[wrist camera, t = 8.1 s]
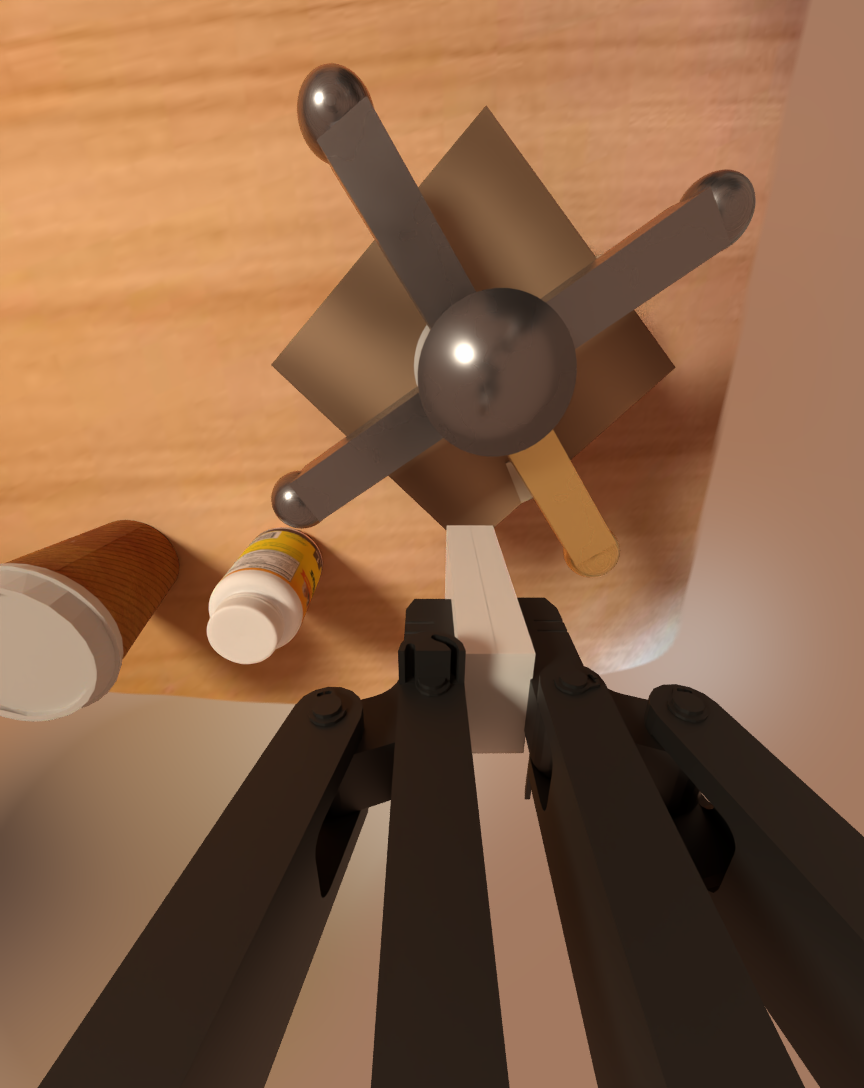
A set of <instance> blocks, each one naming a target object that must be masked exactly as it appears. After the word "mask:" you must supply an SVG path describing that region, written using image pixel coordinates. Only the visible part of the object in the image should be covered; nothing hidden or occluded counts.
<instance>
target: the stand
mask: <svg viewBox="0 0 864 1088" xmlns="http://www.w3.org/2000/svg"><path fill="white" fill-rule="evenodd" d="M418 189H419V190H420V192H421V194H422V196H423V198H424V199H425V201H426V203H427V205H428V206H429V208H430V210H431V212H432V214H433V215H434V217H435V219H436V221H437V223H438V224H439V226H440V228H441V230H442V232H443V233H444V235H445V237H446V239H447V240H448V242H449V244H450V246H451V248H452V249H453V251H454V253H455V255H456V257H457V258H458V260H459V262H460V264H461V266H462V267H463V269H464V271H465V273H466V275H467V276H468V278H469V280H470V282H471V283H472V285H473V287H474V289H475V291H476V292H479V291H482V290H486V289H492V288H511V289H518V290H521V291H524V292H528V293H530V294H532V295H534V296H536V297H538V298H540V299H541V298H542V297H544V296H545V295H546V294H548V293H549V292H551V291H552V290H553V289H555V288H556V287H558V286H559V285H560V284H562V283H563V282H565V281H566V280H568V279H569V278H570V277H572V276H573V275H575V274H576V273H577V272H579V271H580V270H582V269H583V268H584V267H586V266H587V265H589V264H590V263H591V262H593V261H594V260H596V259H597V258H598V257H600V256H601V255H603V254H600V255H598V256H596V257H595V255H594V254H593V252H592V251H591V250H590V248H589V247H588V246H587V244H586V243H585V241H584V240H583V239H582V237H581V236H580V234H579V233H578V232H577V230H576V229H575V228H574V226H573V225H572V223H571V222H570V221H569V219H568V218H567V216H566V215H565V214H564V212H563V211H562V210H561V208H560V207H559V205H558V204H557V203H556V201H555V200H554V198H553V197H552V196H551V194H550V193H549V192H548V190H547V189H546V187H545V186H544V185H543V183H542V182H541V180H540V179H539V178H538V176H537V175H536V174H535V172H534V171H533V169H532V168H531V167H530V165H529V164H528V162H527V161H526V160H525V158H524V157H523V156H522V154H521V153H520V151H519V150H518V149H517V147H516V146H515V144H514V143H513V142H512V140H511V139H510V138H509V136H508V135H507V133H506V132H505V131H504V129H503V128H502V126H501V125H500V124H499V122H498V121H497V120H496V118H495V117H494V115H493V114H492V113H491V111H490V110H489V108H488V107H487V106H485V107H484V109H483V110H482V111H481V112H480V113H479V115H478V116H477V117H476V118H475V119H474V121H473V122H472V123H471V124H470V126H469V127H468V128H467V129H466V130H465V132H464V133H463V134H462V135H461V136H460V138H459V139H458V140H457V141H456V142H455V144H454V145H453V146H452V147H451V148H450V150H449V151H448V152H447V153H446V154H445V156H444V157H443V158H442V159H441V161H440V162H439V163H438V164H437V165H436V167H435V168H434V169H433V170H432V171H431V173H430V174H429V175H428V176H427V177H426V179H425V180H424V181H423V182H422V183H421V185H420V186H419V187H418ZM429 332H430V329H429V327H428V326H427V324H426V322H425V321H424V319H423V318H422V316H421V314H420V313H419V311H418V309H417V308H416V306H415V305H414V303H413V301H412V300H411V298H410V296H409V295H408V293H407V291H406V290H405V288H404V287H403V285H402V283H401V282H400V280H399V278H398V277H397V275H396V273H395V272H394V270H393V269H392V267H391V265H390V264H389V262H388V260H387V259H386V257H385V256H384V254H383V252H382V251H381V249H380V247H379V246H378V244H377V242H376V241H375V240H374V241H373V243H372V244H371V245H370V246H369V247H368V249H367V250H366V251H365V252H364V253H363V255H362V256H361V257H360V258H359V260H358V261H357V262H356V263H355V264H354V266H353V267H352V268H351V269H350V270H349V272H348V273H347V274H346V275H345V276H344V278H343V279H342V280H341V281H340V282H339V284H338V285H337V286H336V287H335V288H334V290H333V291H332V292H331V293H330V295H329V296H328V297H327V298H326V299H325V301H324V302H323V303H322V304H321V305H320V307H319V308H318V309H317V310H316V311H315V313H314V314H313V315H312V316H311V317H310V319H309V320H308V321H307V322H306V324H305V325H304V326H303V327H302V328H301V330H300V331H299V332H298V333H297V334H296V336H295V337H294V338H293V339H292V340H291V342H290V343H289V344H288V345H287V346H286V348H285V349H284V350H283V351H282V352H281V354H280V355H279V356H278V357H277V359H276V360H275V361H274V362H273V363H272V366H273V367H274V368H275V369H276V370H277V371H278V372H279V373H280V374H281V375H282V376H283V377H285V378H286V379H287V380H288V381H289V382H290V383H291V384H292V385H293V386H294V387H295V388H296V389H297V390H298V391H299V392H300V393H301V394H303V395H304V396H305V397H306V398H307V399H308V400H309V401H310V402H311V403H312V404H313V405H314V406H315V407H316V408H317V409H318V410H319V411H321V412H322V413H323V414H324V415H325V416H326V417H327V418H328V419H329V420H330V421H331V422H332V423H333V424H334V425H335V426H336V427H337V428H339V429H340V430H341V431H342V432H343V433H344V434H345V435H346V436H348V435H349V434H351V433H352V432H354V431H355V430H357V429H358V428H359V427H361V426H362V425H364V424H365V423H366V422H368V421H369V420H371V419H372V418H373V417H375V416H376V415H378V414H379V413H380V412H382V411H383V410H385V409H386V408H387V407H389V406H390V405H392V404H393V403H394V402H396V401H397V400H399V399H400V398H402V397H403V396H404V395H406V394H407V393H409V392H410V391H411V390H413V389H414V388H416V387H417V386H418V364H419V358H420V354H421V350H422V347H423V344H424V342H425V339H426V337H427V335H428V333H429ZM575 352H576V359H577V375H576V384H575V388H574V392H573V395H572V398H571V401H570V403H569V406H568V408H567V410H566V412H565V413H564V415H563V417H562V418H561V420H560V421H559V423H558V424H557V425H556V426H555V427H554V428H553V430H554V432H555V434H556V436H557V438H558V439H559V441H560V443H561V445H562V447H563V448H564V450H565V452H566V454H567V455H568V457H569V459H570V460H571V459H572V458H573V457H575V456H576V455H577V454H578V453H579V452H580V451H581V450H583V449H584V448H585V447H586V446H587V445H588V444H589V443H590V442H592V441H593V440H594V439H595V438H596V437H597V436H598V435H600V434H601V433H602V432H603V431H604V430H605V429H606V428H607V427H609V426H610V425H611V424H612V423H613V422H614V421H615V420H617V419H618V418H619V417H620V416H621V415H622V414H623V413H624V412H626V411H627V410H628V409H629V408H630V407H631V406H632V405H634V404H635V403H636V402H637V401H638V400H639V399H640V398H641V397H643V396H644V395H645V394H646V393H647V392H648V391H649V390H651V389H652V388H653V387H654V386H655V385H656V384H657V383H658V382H660V381H661V380H662V379H663V378H664V377H665V376H666V375H668V374H669V373H670V372H671V371H672V370H673V369H674V368H675V366H674V365H673V363H672V362H671V360H670V359H669V358H668V356H667V355H666V353H665V352H664V351H663V349H662V348H661V347H660V345H659V344H658V342H657V341H656V340H655V338H654V337H653V335H652V334H651V333H650V331H649V330H648V329H647V327H646V326H645V324H644V323H643V322H642V320H641V319H640V317H639V316H638V315H637V313H636V312H635V311H634V310H633V311H631V312H630V313H628V314H627V315H625V316H624V317H622V318H621V319H619V320H618V321H616V322H615V323H613V324H612V325H610V326H609V327H607V328H606V329H604V330H603V331H601V332H600V333H599V334H597V335H596V336H594V337H593V338H591V339H590V340H588V341H587V342H585V343H584V344H582V345H581V346H579V347H578V348H576V349H575ZM388 476H389V477H390V478H391V479H393V480H394V481H395V482H396V483H397V484H398V485H399V486H400V487H401V488H402V489H403V490H404V491H405V492H406V493H407V494H408V495H409V496H411V497H412V498H413V499H414V500H415V501H416V502H417V503H418V504H419V505H420V506H421V507H422V508H423V509H424V510H425V511H426V512H427V513H429V514H430V515H431V516H432V517H433V518H434V519H435V520H436V521H437V522H438V523H439V524H440V525H441V526H442V527H443V528H444V529H445V530H447V525H485V526H493V527H495V526H496V525H498V524H499V523H500V522H501V521H502V520H503V519H504V518H506V517H507V516H508V515H509V514H510V513H511V512H512V511H513V510H515V509H516V508H517V507H518V506H519V505H520V504H521V503H523V502H525V501H527V500H530V499H532V498H533V497H532V496H531V494H530V492H529V491H528V489H527V488H526V486H525V484H524V483H523V481H522V479H521V478H520V476H519V474H518V473H517V471H516V470H515V468H514V466H513V465H512V463H511V461H510V460H509V458H508V456H507V455H506V456H499V457H487V456H479V455H475V454H471V453H468V452H466V451H463V450H461V449H459V448H457V447H455V446H454V445H452V444H451V443H449V442H448V441H447V440H445V439H444V438H443V439H441V440H440V441H438V442H437V443H435V444H434V445H432V446H431V447H430V448H428V449H427V450H425V451H424V452H422V453H421V454H419V455H418V456H416V457H415V458H413V459H412V460H410V461H409V462H407V463H406V464H404V465H403V466H401V467H400V468H398V469H397V470H395V471H394V472H392V473H391V474H389V475H388Z"/></svg>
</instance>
